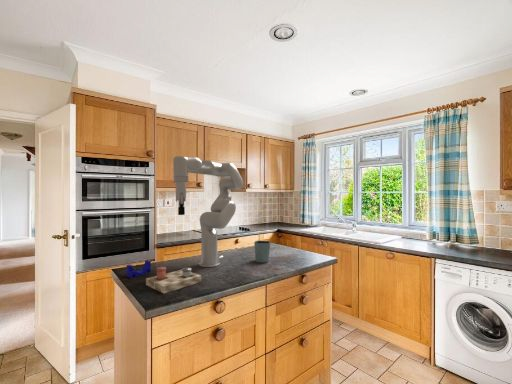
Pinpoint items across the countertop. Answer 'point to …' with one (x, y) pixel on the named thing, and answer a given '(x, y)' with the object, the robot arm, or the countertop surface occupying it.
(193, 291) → the countertop surface
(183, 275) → the grey plug
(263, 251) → the drinking glass
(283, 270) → the countertop surface
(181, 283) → the board
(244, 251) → the countertop surface
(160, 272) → the red plug
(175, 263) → the countertop surface
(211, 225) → the robot arm
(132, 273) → the cable clip
